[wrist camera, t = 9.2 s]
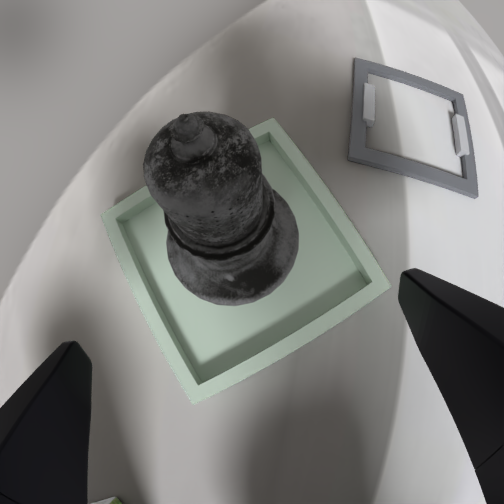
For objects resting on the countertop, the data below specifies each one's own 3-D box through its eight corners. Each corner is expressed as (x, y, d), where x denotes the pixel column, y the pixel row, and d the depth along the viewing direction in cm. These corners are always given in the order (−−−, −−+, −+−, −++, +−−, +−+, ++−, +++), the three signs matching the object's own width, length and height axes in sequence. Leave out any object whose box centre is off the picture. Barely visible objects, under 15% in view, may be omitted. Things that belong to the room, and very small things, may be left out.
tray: (382, 289, 17) (391, 286, 15) (199, 398, 16) (192, 405, 14) (273, 130, 19) (273, 117, 18) (111, 222, 18) (100, 214, 17)
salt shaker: (216, 189, 18) (154, 17, 6) (309, 230, 17) (376, 71, 5) (167, 279, 17) (12, 198, 5) (263, 328, 16) (255, 343, 4)
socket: (474, 198, 17) (480, 194, 17) (347, 160, 18) (350, 154, 18) (460, 97, 20) (464, 92, 19) (354, 61, 21) (356, 55, 20)
